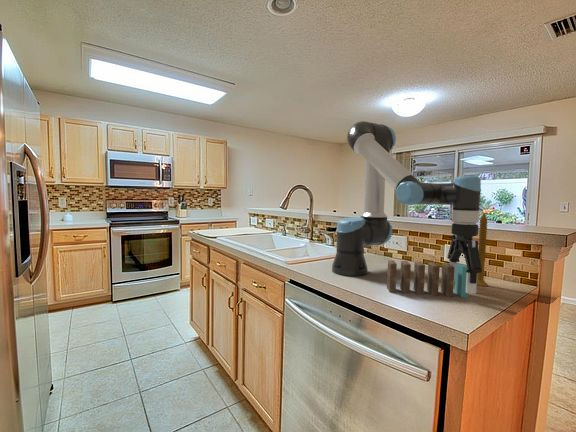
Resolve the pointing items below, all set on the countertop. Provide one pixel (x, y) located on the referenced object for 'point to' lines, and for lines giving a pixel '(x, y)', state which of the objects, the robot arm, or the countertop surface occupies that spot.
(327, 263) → the countertop surface
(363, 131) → the robot arm
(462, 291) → the domino
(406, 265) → the domino
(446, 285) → the domino
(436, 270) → the domino
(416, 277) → the domino
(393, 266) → the domino
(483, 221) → the candlestick
